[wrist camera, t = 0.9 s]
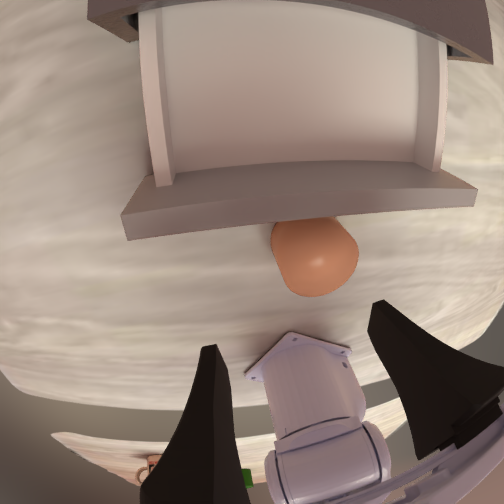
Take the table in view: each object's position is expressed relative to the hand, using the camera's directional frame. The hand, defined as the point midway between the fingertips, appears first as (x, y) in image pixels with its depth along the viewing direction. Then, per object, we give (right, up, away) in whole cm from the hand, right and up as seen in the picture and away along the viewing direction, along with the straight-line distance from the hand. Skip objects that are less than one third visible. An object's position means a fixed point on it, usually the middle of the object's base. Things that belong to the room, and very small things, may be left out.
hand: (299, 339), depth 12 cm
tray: (+1, +13, +2) cm, 14 cm away
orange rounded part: (+2, +5, +8) cm, 9 cm away
